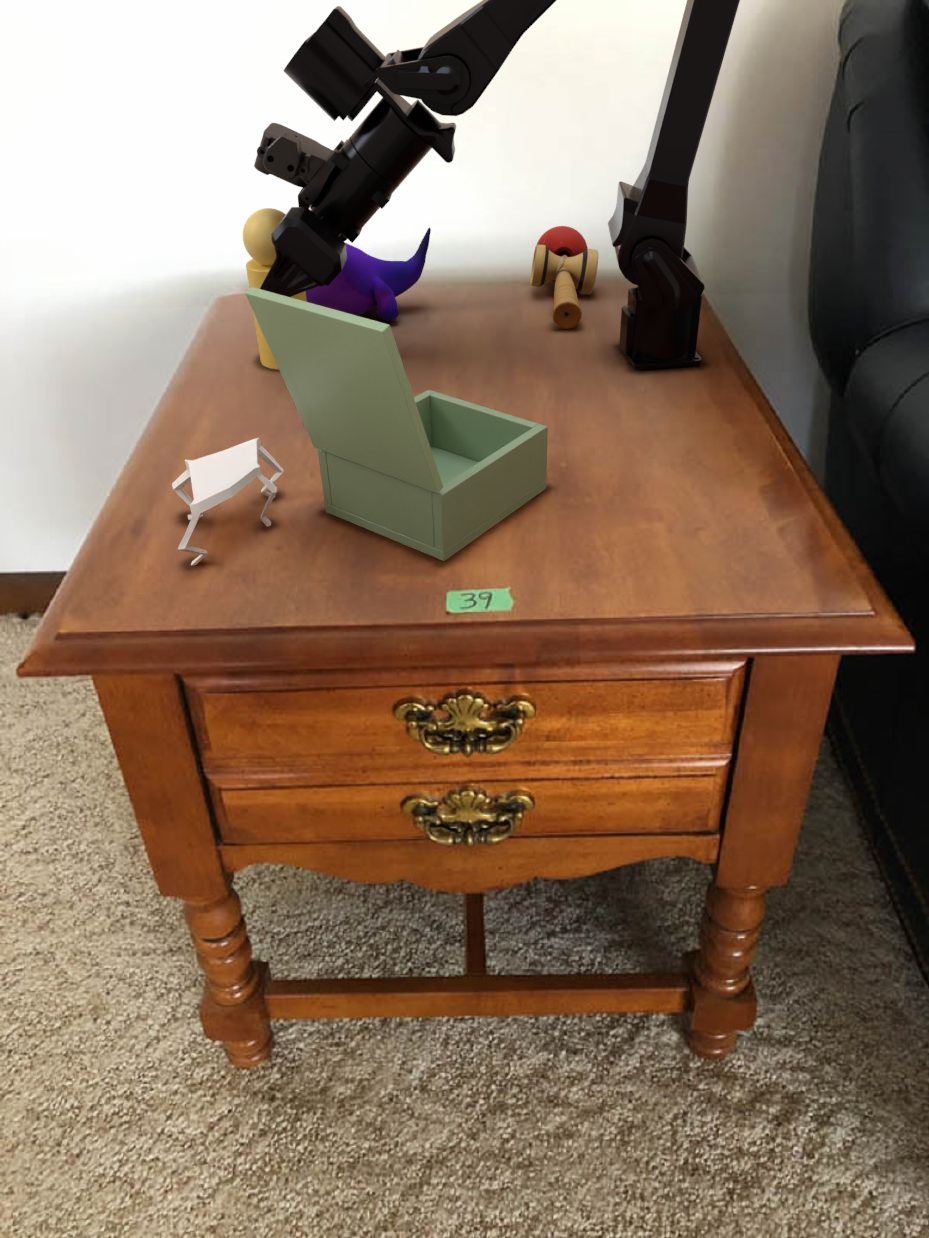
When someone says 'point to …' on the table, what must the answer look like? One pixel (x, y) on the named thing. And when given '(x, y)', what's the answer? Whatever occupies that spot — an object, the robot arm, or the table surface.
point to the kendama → (565, 271)
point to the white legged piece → (223, 482)
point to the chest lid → (348, 386)
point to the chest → (445, 478)
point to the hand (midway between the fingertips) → (268, 286)
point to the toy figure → (262, 264)
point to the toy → (370, 283)
